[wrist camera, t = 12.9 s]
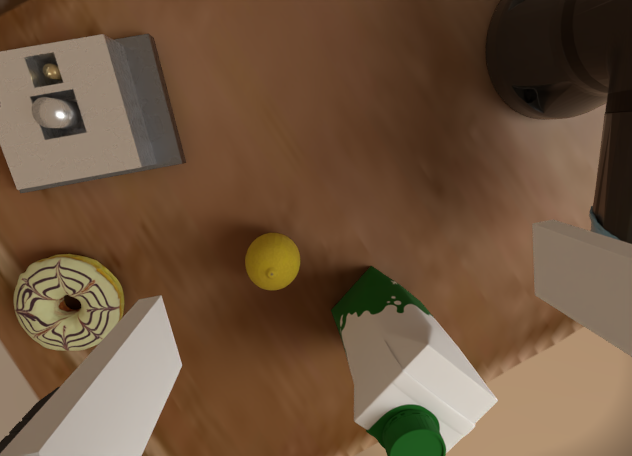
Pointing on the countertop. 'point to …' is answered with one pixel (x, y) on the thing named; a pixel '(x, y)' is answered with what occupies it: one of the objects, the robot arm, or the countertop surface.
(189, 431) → the countertop surface
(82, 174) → the white boxy piece
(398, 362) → the milk carton
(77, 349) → the decorated donut
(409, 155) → the countertop surface
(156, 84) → the fixture
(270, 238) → the lemon
